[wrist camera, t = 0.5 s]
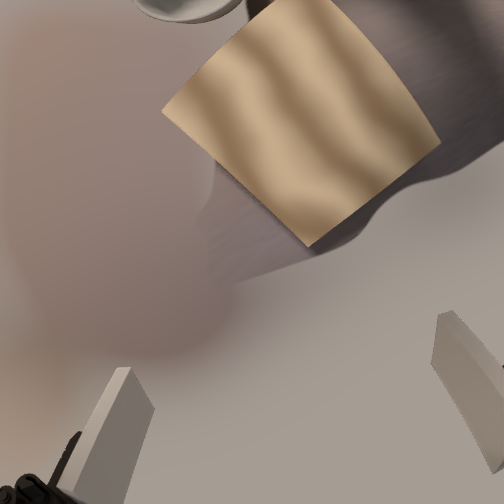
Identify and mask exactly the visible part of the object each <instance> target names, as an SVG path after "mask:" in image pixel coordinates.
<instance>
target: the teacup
mask: <svg viewBox="0 0 504 504" xmlns="http://www.w3.org/2000/svg"><path fill="white" fill-rule="evenodd" d="M132 1H133V3H134V4H135V5H136V6H137V7H138V9H140V10H141V11H142V12H143V13H145V14H147V15H149V16H150V17H152V18H155V19H159V20H162V21H167V22H177V23H186V24H196V23H204V22H208V21H212V20H215V19H218V18H220V17H222V16H224V15H226V14H227V13H229V12H230V11H232V10H233V9H234V8H235V7H237V6H238V5H239V4H240V2H241V1H242V0H132Z"/></svg>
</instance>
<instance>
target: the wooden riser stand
mask: <svg viewBox="0 0 504 504" xmlns="http://www.w3.org/2000/svg"><path fill="white" fill-rule="evenodd" d="M161 112H162V113H164V114H165V115H166V116H167V117H168V118H169V119H170V120H172V121H173V122H174V123H175V124H176V125H177V126H179V127H180V128H181V129H182V130H183V131H184V132H185V133H186V134H188V135H189V136H190V137H191V138H192V139H193V140H194V141H195V142H197V143H198V144H199V145H200V146H201V147H202V148H203V149H204V150H206V151H207V152H208V153H209V154H210V155H211V156H212V157H213V158H214V159H215V160H217V161H218V162H219V163H220V164H221V165H222V166H223V167H224V168H225V169H226V170H227V171H229V172H230V173H231V174H232V175H233V176H234V177H235V178H236V179H237V180H238V181H239V182H240V183H241V184H243V185H244V186H245V187H246V188H247V189H248V190H249V191H250V192H251V193H252V194H253V195H254V196H255V197H256V198H257V199H259V200H260V201H261V202H262V203H263V204H264V205H265V206H266V207H267V208H268V209H269V210H270V211H271V212H272V213H273V214H274V215H275V216H276V217H277V218H278V219H280V220H281V221H282V222H283V223H284V224H285V225H286V226H287V227H288V228H289V229H290V230H291V231H292V232H293V233H294V234H295V235H296V236H297V237H298V238H299V239H300V240H301V241H302V242H303V243H304V244H305V245H306V246H307V247H309V246H310V245H312V244H313V243H314V242H316V241H317V240H318V239H320V238H321V237H322V236H324V235H325V234H326V233H328V232H329V231H330V230H331V229H333V228H334V227H335V226H337V225H338V224H339V223H341V222H342V221H343V220H345V219H346V218H347V217H348V216H350V215H351V214H352V213H354V212H355V211H356V210H358V209H359V208H360V207H361V206H363V205H364V204H365V203H367V202H368V201H369V200H370V199H372V198H373V197H374V196H376V195H377V194H378V193H379V192H381V191H382V190H383V189H385V188H386V187H387V186H388V185H390V184H391V183H392V182H393V181H395V180H396V179H397V178H398V177H400V176H401V175H402V174H403V173H405V172H406V171H407V170H408V169H410V168H411V167H412V166H413V165H415V164H416V163H417V162H418V161H420V160H421V159H422V158H423V157H425V156H426V155H427V154H428V153H430V152H431V151H432V150H433V149H434V148H436V147H437V146H438V145H439V144H441V141H440V140H439V138H438V136H437V134H436V133H435V131H434V129H433V128H432V126H431V124H430V123H429V121H428V120H427V118H426V116H425V115H424V113H423V112H422V110H421V109H420V107H419V106H418V104H417V103H416V101H415V100H414V98H413V97H412V95H411V94H410V93H409V91H408V90H407V88H406V87H405V85H404V84H403V83H402V81H401V80H400V79H399V77H398V76H397V75H396V73H395V72H394V71H393V69H392V68H391V67H390V65H389V64H388V63H387V62H386V60H385V59H384V58H383V57H382V55H381V54H380V53H379V52H378V51H377V49H376V48H375V47H374V46H373V45H372V44H371V42H370V41H369V40H368V39H367V38H366V37H365V36H364V34H363V33H362V32H361V31H360V30H359V29H358V28H357V27H356V26H355V25H354V23H353V22H352V21H351V20H350V19H349V18H348V17H347V16H346V15H345V14H344V13H343V12H342V11H341V10H340V9H339V8H338V7H337V6H336V5H335V4H334V3H333V2H332V1H331V0H275V1H274V2H272V3H271V4H270V5H269V6H267V7H266V8H265V9H264V10H262V11H261V12H260V13H259V14H258V15H256V16H255V17H254V18H253V19H252V20H251V21H249V22H248V23H247V24H246V25H245V26H244V27H243V28H241V29H240V30H239V31H238V32H237V33H236V34H235V35H234V36H233V37H232V38H230V39H229V40H228V41H227V42H226V43H225V44H224V45H223V46H222V47H221V48H220V49H219V50H218V51H217V52H216V53H215V54H214V55H213V56H212V57H211V58H210V59H209V60H208V61H207V62H206V63H205V64H204V65H203V66H202V67H201V68H200V69H199V70H198V71H197V72H196V73H195V74H194V75H193V76H192V77H191V78H190V79H189V81H187V83H186V84H185V85H184V86H183V87H182V88H181V89H180V90H179V91H178V92H177V93H176V95H175V96H174V97H173V98H172V99H171V100H170V101H169V103H168V104H167V105H166V106H165V107H164V108H163V110H162V111H161Z"/></svg>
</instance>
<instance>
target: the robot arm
mask: <svg viewBox="0 0 504 504" xmlns="http://www.w3.org/2000/svg"><path fill="white" fill-rule="evenodd" d="M431 365H432V366H433V368H434V370H435V371H436V373H437V374H438V376H439V378H440V379H441V381H442V382H443V384H444V386H445V388H446V389H447V391H448V393H449V394H450V396H451V398H452V399H453V401H454V403H455V404H456V406H457V408H458V409H459V411H460V413H461V415H462V417H463V418H464V420H465V422H466V424H467V426H468V427H469V429H470V431H471V433H472V435H473V437H474V438H475V440H476V442H477V444H478V446H479V448H480V450H481V452H482V454H483V456H484V458H485V459H486V462H487V464H488V466H489V468H490V470H491V472H492V474H495V473H496V472H498V471H500V470H502V469H503V468H504V365H503V366H501V365H500V364H499V362H498V361H497V360H496V359H495V357H494V356H493V355H492V354H491V353H490V352H489V350H488V349H487V348H486V347H485V346H484V345H483V343H482V342H481V341H480V340H479V339H478V338H477V337H476V335H475V334H474V333H473V332H472V331H471V330H470V329H469V328H468V326H467V325H466V324H465V323H464V322H463V321H462V320H461V319H460V318H459V317H458V316H457V315H456V313H455V312H454V311H449V312H446V313H442V314H440V315H438V319H437V327H436V335H435V342H434V348H433V355H432V360H431ZM154 410H155V408H154V407H153V405H152V403H151V402H150V400H149V398H148V397H147V395H146V393H145V391H144V390H143V388H142V386H141V384H140V382H139V380H138V379H137V377H136V375H135V373H134V371H133V370H132V368H131V367H122V368H121V367H119V368H117V369H116V371H115V372H114V374H113V376H112V378H111V380H110V382H109V383H108V385H107V387H106V389H105V391H104V393H103V394H102V396H101V398H100V400H99V402H98V404H97V405H96V407H95V409H94V411H93V413H92V415H91V417H90V419H89V421H88V423H87V425H86V427H85V428H84V430H83V432H80V431H78V432H77V433H76V434H75V435H74V436H73V437H72V438H71V439H70V441H69V443H68V445H67V447H66V451H64V453H63V454H62V458H60V460H59V462H58V464H57V466H56V468H55V471H54V473H53V475H52V477H51V479H50V481H49V483H48V484H47V485H46V484H45V483H43V482H42V481H41V480H40V479H39V478H38V477H37V476H36V475H34V474H24V475H23V476H21V477H20V478H19V479H18V480H17V481H16V484H15V488H12V487H11V486H2V487H1V488H0V504H123V502H124V499H125V496H126V493H127V490H128V487H129V483H130V480H131V477H132V474H133V471H134V468H135V465H136V462H137V459H138V456H139V453H140V450H141V447H142V444H143V441H144V438H145V435H146V433H147V430H148V427H149V424H150V421H151V418H152V415H153V413H154Z"/></svg>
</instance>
